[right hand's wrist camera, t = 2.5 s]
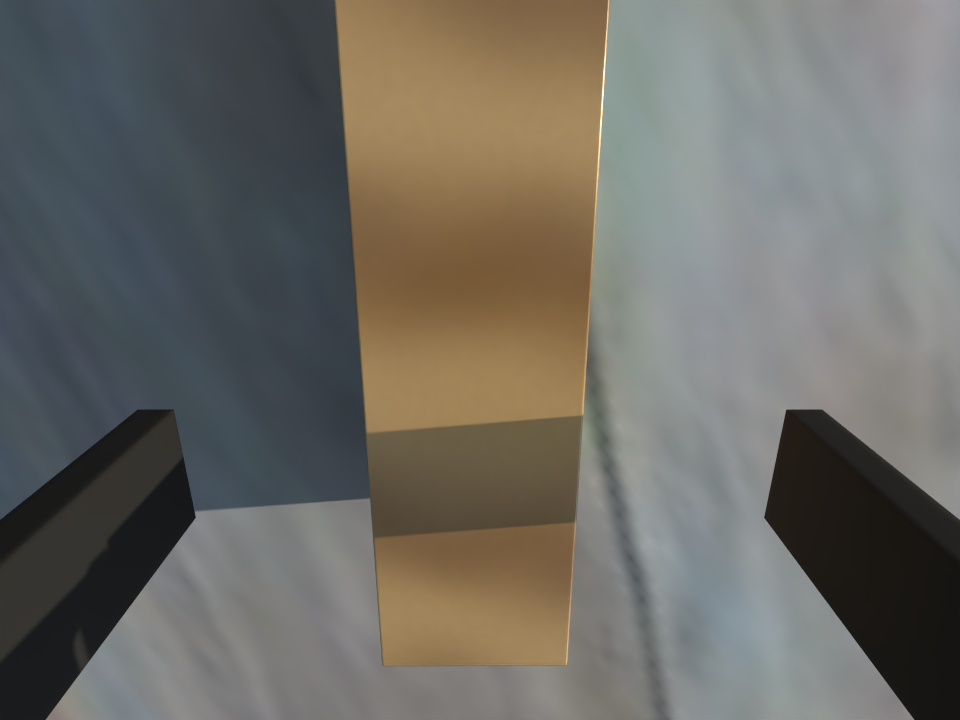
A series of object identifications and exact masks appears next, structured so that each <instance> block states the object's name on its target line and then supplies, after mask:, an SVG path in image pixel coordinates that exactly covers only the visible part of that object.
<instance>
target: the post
mask: <svg viewBox="0 0 960 720" xmlns="http://www.w3.org/2000/svg"><path fill="white" fill-rule="evenodd" d="M609 5H610V0H334V6H335V20H336V34H337V47H338V61H339V75H340V89H341V102H342V116H343V130H344V144H345V158H346V171H347V185H348V199H349V213H350V226H351V240H352V254H353V268H354V282H355V295H356V309H357V323H358V337H359V351H360V364H361V378H362V392H363V406H364V419H365V433H366V447H367V461H368V475H369V488H370V502H371V516H372V530H373V543H374V557H375V571H376V585H377V599H378V612H379V626H380V640H381V654H382V665H383V666H562V665H567V656H568V641H569V625H570V610H571V594H572V579H573V563H574V548H575V532H576V517H577V501H578V486H579V470H580V455H581V439H582V424H583V408H584V393H585V377H586V361H587V346H588V330H589V315H590V299H591V284H592V268H593V253H594V237H595V222H596V206H597V191H598V175H599V160H600V144H601V129H602V113H603V98H604V82H605V67H606V51H607V36H608V20H609Z"/></svg>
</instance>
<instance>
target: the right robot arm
mask: <svg viewBox="0 0 960 720" xmlns="http://www.w3.org/2000/svg"><path fill="white" fill-rule="evenodd" d="M195 518H196V517H195V512H194V507H193V502H192V497H191V492H190V487H189V483H188V478H187V473H186V468H185V463H184V458H183V453H182V448H181V443H180V438H179V434H178V429H177V424H176V419H175V414H174V410H137V411H136V412H134V413H133V414H132V415H131V416H129V417H128V418H127V419H126V420H124V421H123V422H122V423H121V424H119V425H118V426H117V427H116V428H114V429H113V430H112V431H111V432H109V433H108V434H107V435H106V436H104V437H103V438H102V439H101V440H99V441H98V442H97V443H96V444H94V445H93V446H92V447H91V448H89V449H88V450H87V451H86V452H84V453H83V454H82V455H81V456H79V457H78V458H77V459H76V460H74V461H73V462H72V463H71V464H69V465H68V466H67V467H66V468H64V469H63V470H62V471H61V472H60V473H58V474H57V475H56V476H55V477H53V478H52V479H51V480H50V481H48V482H47V483H46V484H45V485H43V486H42V487H41V488H40V489H38V490H37V491H36V492H35V493H33V494H32V495H31V496H30V497H28V498H27V499H26V500H25V501H23V502H22V503H21V504H20V505H18V506H17V507H16V508H15V509H13V510H12V511H11V512H10V513H8V514H7V515H6V516H5V517H3V518H2V519H1V520H0V720H46V718H47V717H48V716H49V714H50V713H51V712H52V710H53V709H54V708H55V706H56V705H57V704H58V702H59V701H60V700H61V698H62V697H63V696H64V694H65V693H66V691H67V690H68V689H69V687H70V686H71V685H72V683H73V682H74V681H75V679H76V678H77V677H78V675H79V674H80V673H81V671H82V670H83V669H84V667H85V666H86V665H87V663H88V662H89V661H90V659H91V658H92V656H93V655H94V654H95V652H96V651H97V650H98V648H99V647H100V646H101V644H102V643H103V642H104V640H105V639H106V638H107V636H108V635H109V634H110V632H111V631H112V630H113V628H114V627H115V626H116V624H117V623H118V622H119V620H120V619H121V617H122V616H123V615H124V613H125V612H126V611H127V609H128V608H129V607H130V605H131V604H132V603H133V601H134V600H135V599H136V597H137V596H138V595H139V593H140V592H141V591H142V589H143V588H144V587H145V585H146V584H147V583H148V581H149V580H150V578H151V577H152V576H153V574H154V573H155V572H156V570H157V569H158V568H159V566H160V565H161V564H162V562H163V561H164V560H165V558H166V557H167V556H168V554H169V553H170V552H171V550H172V549H173V548H174V546H175V545H176V543H177V542H178V541H179V539H180V538H181V537H182V535H183V534H184V533H185V531H186V530H187V529H188V527H189V526H190V525H191V523H192V522H193V521H194V519H195ZM764 518H765V519H766V521H767V522H768V523H769V525H770V526H771V527H772V529H773V530H774V531H775V533H776V534H777V535H778V537H779V538H780V539H781V541H782V542H783V543H784V545H785V546H786V548H787V549H788V550H789V552H790V553H791V554H792V556H793V557H794V558H795V560H796V561H797V562H798V564H799V565H800V566H801V568H802V569H803V570H804V572H805V573H806V574H807V576H808V577H809V578H810V580H811V581H812V583H813V584H814V585H815V587H816V588H817V589H818V591H819V592H820V593H821V595H822V596H823V597H824V599H825V600H826V601H827V603H828V604H829V605H830V607H831V608H832V609H833V611H834V612H835V613H836V615H837V616H838V617H839V619H840V620H841V622H842V623H843V624H844V626H845V627H846V628H847V630H848V631H849V632H850V634H851V635H852V636H853V638H854V639H855V640H856V642H857V643H858V644H859V646H860V647H861V648H862V650H863V651H864V652H865V654H866V655H867V656H868V658H869V659H870V661H871V662H872V663H873V665H874V666H875V667H876V669H877V670H878V671H879V673H880V674H881V675H882V677H883V678H884V679H885V681H886V682H887V683H888V685H889V686H890V687H891V689H892V690H893V691H894V693H895V694H896V696H897V697H898V698H899V700H900V701H901V702H902V704H903V705H904V706H905V708H906V709H907V710H908V712H909V713H910V714H911V716H912V717H913V718H914V720H960V520H959V519H958V518H957V517H955V516H954V515H953V514H952V513H950V512H949V511H948V510H947V509H945V508H944V507H943V506H942V505H940V504H939V503H938V502H937V501H935V500H934V499H933V498H932V497H930V496H929V495H928V494H927V493H925V492H924V491H923V490H922V489H920V488H919V487H918V486H917V485H915V484H914V483H913V482H912V481H910V480H909V479H908V478H907V477H905V476H904V475H903V474H902V473H900V472H899V471H898V470H897V469H896V468H894V467H893V466H892V465H891V464H889V463H888V462H887V461H886V460H884V459H883V458H882V457H881V456H879V455H878V454H877V453H876V452H874V451H873V450H872V449H871V448H869V447H868V446H867V445H866V444H864V443H863V442H862V441H861V440H859V439H858V438H857V437H856V436H854V435H853V434H852V433H851V432H849V431H848V430H847V429H846V428H844V427H843V426H842V425H841V424H839V423H838V422H837V421H836V420H834V419H833V418H832V417H831V416H829V415H828V414H827V413H826V412H824V411H823V410H786V414H785V419H784V424H783V429H782V434H781V438H780V443H779V448H778V453H777V458H776V463H775V468H774V473H773V478H772V483H771V487H770V492H769V497H768V502H767V507H766V512H765V517H764Z"/></svg>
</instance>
